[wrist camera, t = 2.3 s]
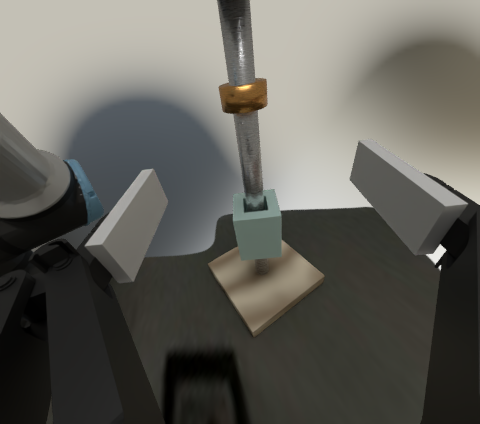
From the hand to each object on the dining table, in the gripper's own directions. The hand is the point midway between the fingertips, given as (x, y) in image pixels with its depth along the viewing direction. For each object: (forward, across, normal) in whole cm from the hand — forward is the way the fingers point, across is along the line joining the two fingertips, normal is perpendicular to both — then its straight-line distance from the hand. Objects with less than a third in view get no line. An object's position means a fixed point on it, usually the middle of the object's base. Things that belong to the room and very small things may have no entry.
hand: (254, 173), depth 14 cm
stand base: (+10, 0, -27) cm, 29 cm away
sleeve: (+10, 0, -18) cm, 20 cm away
